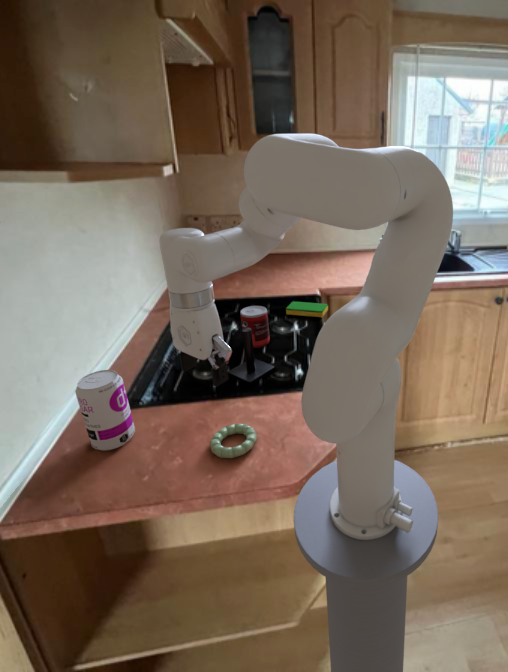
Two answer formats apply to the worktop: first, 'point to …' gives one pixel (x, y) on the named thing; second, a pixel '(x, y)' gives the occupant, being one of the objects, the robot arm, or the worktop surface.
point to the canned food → (256, 324)
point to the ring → (237, 450)
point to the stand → (250, 363)
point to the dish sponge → (307, 309)
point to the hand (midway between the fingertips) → (205, 375)
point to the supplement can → (105, 409)
